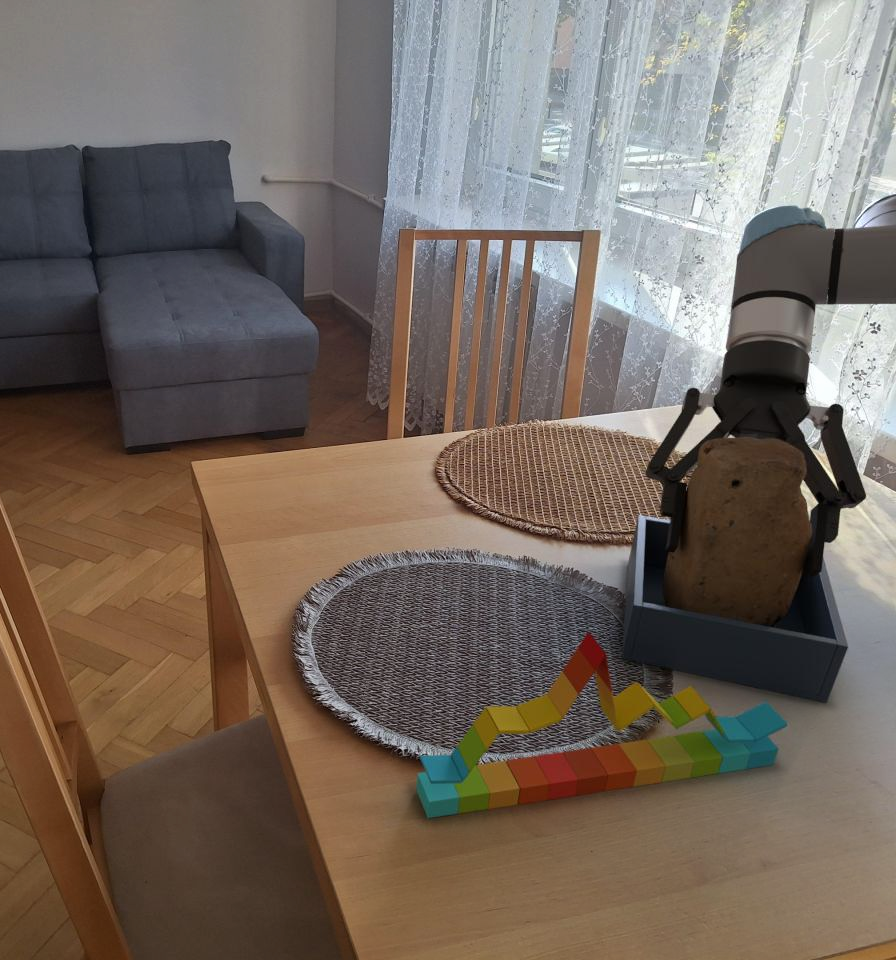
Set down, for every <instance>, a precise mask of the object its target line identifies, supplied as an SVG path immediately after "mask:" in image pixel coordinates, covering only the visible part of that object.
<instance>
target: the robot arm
mask: <svg viewBox="0 0 896 960" xmlns="http://www.w3.org/2000/svg"><path fill="white" fill-rule="evenodd" d="M734 273H735V274H734V281H733V290H732V296H731V304H730V305H731V306H730V315H729V321H728V322H729V323H728V329H727V336H726V341H725V342H726V343H725V350H726V352H725V354H724V356H723V363H722V369H721V374H720V375H721V377H720V383H719V389H718V391H717V392H716V393H715V394H712V393H704V392H701V391H700V390H699V389H698V388H697V387H690V388H688V390H687V391H686V393H685V394H684V398H683V400H682V405H681V411H680V413H679V415H678V416H677V418H676V419H675V421H674V423H673V425H672V426H671V427H670V429H669V430H668V432H667V434H666V435H665V437H664V439H663V440H662V442H661V444H660V445H659V447H658V448H657V450H656V451H655V453H654V454H653V456H652V458H651V459H650V461H649V462H648V464H647V467H646V469H645V476H646V477H647V478H648V479H650V480H655V481H657V482H659V483H660V484H661V485H662V493H661V498H660V506H659V514H660V517H666V518H670V519H669V520H670V525H669V532H668V539H667V546H666V552H672V553H674V552H675V550H676V549H677V547H678V543H679V536H680V529H681V522H682V516H683V509H684V502H685V495H686V490H687V486H688V483H687V482H683V481H682V480H683V479H684V478H685V477H687V476H688V474H690V473H692V472H693V471H694V469H695V468H696V467H697V464H698V454H699V450H700V448H701V446H702V444H704V443H705V442H706V441H708V440H713V439H719V438H730V436H732V438H736V437H750V438H757V439H766V438H775V439H780V440H783V441H784V442H786V443H788V444H790V445H792V446H794V447H795V448H797V449H798V450H800V451H802V453H803V454H804V457H805V462H806V468H807V472H806V476H805V478H804V479H803V482H804V483H805V485H806V487H807V488H808V490H809V491H810V493H811V494H812V496H813V497H814V499H815V501H816V502H817V504H816V505H815V506H814V507H813V508H811V509H810V514H809V521H810V523H811V524H812V539H811V544H810V548H809V552H808V556H807V559H806V562H805V569H804V576H810V577H814V576H815V575H817V574H818V573H820V572H821V571H822V563H823V558H824V552H825V551H824V550H825V543H827V544H831V543H833V542H834V541H835V540H836V539H837V537H838V536H839V528H840V521H841V520H840V518H841V510H842V509H855V508H856V507H857V506H858V505H861V503H863V501H865V500H866V498H867V493H866V490H865V487H864V485H863V482H862V478H861V475H860V473H859V470H858V467H857V465H856V461H855V459H854V456H853V454H852V451H851V447H850V444H849V442H848V438H847V436H846V434H845V430H844V428H843V421H844V411H845V410H844V407H843V406H842V404H839V403H832V404H831V405H830V406H829V407H827V406H817V405H811V404H810V403H809V401H808V398H807V388H808V379H809V371H810V361H811V358H810V355H809V354H810V352H811V351H812V344H813V335H814V334H813V333H814V324H815V316H816V306H817V305H819V306H820V305H821V306H822V305H823V306H824V305H829V306H830V305H833V306H834V305H896V193H892V194H887V195H885V196H882V197H880V198H878V199H876V200H874V201H872V202H871V203H870V204H868V205H866V207H865V208H864V209H863V210H862V212H861V213H860V214H859V215H858V216H857V218H856V219H855V221H854V223H853V226H852V227H847V228H843V227H840V228H835V227H829V228H827V226H826V222H825V218H824V217H823V215H822V214H821V213H820V212H819V211H817V210H816V209H813V208H811V207H802V208H800V207H799V206H798V205H795V204H785V205H778V206H774V207H770V208H768V209H765V210H763V211H760V212H758V213H757V214H755V215H753V217H752V218H750V220H749V221H748V222H747V223H746V224H745V226H744V227H743V232H742V236H741V241H740V246H739V251H738V253H737V255H736V264H735V271H734ZM707 408H711V409H712V410H713V412H714V413H715V415H716V416H717V417H718V419H719V420H720V422H718V423H717V424H716V425H715V426H714V428H713V429H712V430H711V431H709V432H708V433H707V434H706V435H705V436H704V437H703V438H702V439H701V440H700V441H699V442H698V443H697V444H696V445H694V447H692V449H690V450H689V451H688V452H687V453H686V454H685V455H684V456H683V457H682V458H681V459H680V460H678V462H677V463H675V464H674V465H673V466H672V467H671V468H670V467H667V466H665V465H666V463H668V460H669V459H670V457H671V455H672V454H673V452H674V451H675V449H676V448H677V446H678V444H679V443H680V441H681V440H682V439H683V437H684V435H685V433H686V431H687V430H688V428H689V427H690V425H691V424H692V421H693V419H694V418H695V415H696V416H699V415H702V414H704V411H705V410H706V409H707ZM806 419H808V420H810V421H811V422H812V424H813V427H814V428H815V429H816V430H817V431H818V430H819V434H820V440H821V443H822V446H823V449H824V452H825V456H826V458H827V461H828V464H829V467H830V469H831V473H832V475H833V478H834V482H835V483H834V482H833V480H832V479H831V477H830V475H829V474H828V472H827V471H826V470H825V468H824V467H823V465H822V463H821V462H820V460H819V459H818V457H817V456H816V454H815V453H814V451H813V450H812V448H811V447H810V445H809V444H808V442H807V441H806V436H805V433H804V432H803V431H802V429H801V428H800V426H799V425H800V424H801V423H802V422H804V421H805V420H806ZM835 484H836V485H835Z"/></svg>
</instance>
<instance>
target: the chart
mask: <svg viewBox="0 0 896 960" xmlns="http://www.w3.org/2000/svg"><path fill="white" fill-rule="evenodd" d="M593 675H594V676H595V681H596V686H597V692H598V698H599V703H600V709H601V710H602V712H603V713H604V715H605V716H606V717H607V719H608V721H609V722H610V723H611V725H612V726H613V727H614V729H615V730H616V731H617V733H619V732H621V731H623V730H624V729H626V728H628V726H630V725H631V724H632V723H634V722H635V721H637V720H638V719H640V718H641V717H642V716H644V715H645V714H647V713H648V712H649V711H651V710H652V709H654V710H656V712H657V713H659V714H660V715H661V716H662V717H663V719H665V720H666V721H667V722H668V723H669V724H670V725H671V726H672V727H673V728H674V729H675V730H678V729H681V728H683V727H684V726H686V725H688V724H689V723H691V722H694V721H695V720H697V719H699V718H701V717H702V716H704V715H705V717H706V719H707V720H708V721H709V723H710V724H711V725H712V726H713V728H714V729H709V730H701V731H695V732H687V733H680V734H674V735H668V736H660V737H654V738H647V739H641V740H634V741H627V742H621V743H614V744H608V745H601V746H593V747H588V748H581V749H573V750H568V751H561V752H554V753H547V754H541V755H540V754H539V755H534V756H527V757H521V758H515V759H513V758H512V759H506V760H501V761H494V762H487V763H481V764H478V762H480V760H481V758H482V757H483V756H484V754H485V753H486V752H487V751H488V749H489V748H490V747H491V745H492V744H493V743H494V742H495V740H497V737H498V736H499V735H528V734H529V735H530V734H533V733H534V732H537V731H540V730H542V729H545V728H548V727H550V726H552V725H555V724H557V723H560V722H562V721H563V719H564V718H565V716H566V715H567V713H568V712H569V710H570V709H571V708H572V706H573V705H574V704H575V702H576V701H577V700H578V697H579V695H580V694H581V693H582V691H583V690H584V688H586V685H587V684H588V682H589V681H590V679H591V678H592V677H593ZM788 725H789V723H788V722H787V721H786V720H785V718H783V717H782V716H781V715H780V714H779V712H777V711H776V710H775V709H774V708H773V706H772V705H771V704H770V703H769V702H768V701H763V702H762V703H760V704H758V705H756V706H754V707H752V708H750V709H748V710H746V711H744V712H742V713H740V714H738V715H736V716H716V715H715V713H714V711H713V709H712V708H711V706H710V705H709V704H708V703H707V702H706V701H705V699H704V698H703V697H702V696H701V695H700V694H699V693H698V691H697V690H696V689H695V688H694V687H693V686H691V685H690V686H688V687H686V688H684V689H682V690H681V691H679V692H677V693H674V695H672V696H670V697H668V698H666V699H664V700H663V701H661V702H658V701H657V699H655V698H654V697H653V696H652V695H651V694H650V693H649V692H648V691H647V690H646V689H645V688H644V687H643V686H642V685H641V684H640V683H639V682H637V681H635V682H633V683H632V684H631V685H629V686H628V687H627V688H625V689H624V690H622V691H621V692H620V693H618V694H616V695H615V696H614V692H613V686H612V680H611V674H610V668H609V663H608V656H607V653H606V652H605V650H604V649H603V648H602V646H601V645H600V644H599V642H598V641H597V640H596V639H595V637H594V636H593V635H592V633H591V632H589V631H588V632H586V634H585V636H584V637H583V639H582V641H581V642H580V644H579V645H578V646H577V648H576V649H575V651H574V653H573V654H572V655H571V657H570V658H569V660H568V662H567V663H566V665H565V666H564V668H563V669H562V671H561V672H560V673H559V676H558V677H557V678H556V680H555V682H554V683H553V685H552V686H551V687H550V689H549V690H548V692H547V693H546V694H544V695H541V696H538V697H536V698H534V699H530V700H529V701H526V702H523V703H521V704H518V705H514V706H513V705H512V706H511V705H510V706H507V705H506V706H503V705H502V706H500V705H499V706H498V705H497V706H493V705H492V706H486V707H484V709H483V710H482V712H481V713H480V714H479V715H478V717H477V719H475V721H474V722H473V724H472V725H471V727H470V728H469V729H468V731H467V732H466V733H465V734H464V736H463V737H462V739H460V741H459V742H458V744H457V745H456V747H455V748H454V749H453V750H452V752H451V754H429V755H427V754H426V755H423V754H422V755H420V756H419V759H420V762H421V764H422V766H423V769H424V772H423V771H422V772H417V773H416V775H417V776H416V788H415V790H416V792H417V796H418V797H419V800H420V803H421V805H422V808H423V811H424V812H425V815H426V817H427V819H431V818H438V817H439V818H440V817H444V816H451V815H452V816H453V815H459V814H464V813H465V814H466V813H471V812H477V811H485V810H492V809H499V808H506V807H511V806H518V805H524V804H531V803H537V802H538V803H539V802H544V801H550V800H556V799H564V798H569V797H576V796H583V795H588V794H596V793H601V792H608V791H614V790H620V789H627V788H633V787H638V786H639V787H640V786H646V785H653V784H659V783H660V784H661V783H667V782H671V781H678V780H685V779H691V778H692V779H693V778H698V777H705V776H711V775H716V774H717V775H718V774H723V773H730V772H736V771H743V770H748V769H755V768H762V767H768V766H773V765H774V764H775V761H776V757H777V755H778V753H779V750H780V749H779V747H778V746H777V745H776V744H775V742H773V740H772V739H771V738H770V737H769V736H771V735H773V734H775V733H777V732H778V731H781V730H784V729H785V728H787V727H788Z"/></svg>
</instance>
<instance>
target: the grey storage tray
mask: <svg viewBox="0 0 896 960" xmlns="http://www.w3.org/2000/svg"><path fill="white" fill-rule="evenodd" d="M669 525H670V519H667V518H659V517H653V516H646V515H641V514H638V515H637V520H636V524H635V529H634V533H633V537H632V538H633V539H632V543H631V548H630V551H629V552H630V553H629V557H628V561H627V571H626V572H627V574H626V587H625V588H626V589H625V600H624V601H625V603H624V618H623V633H622V647H621V659H622V660H628V661H631V662H636V663H642V664H646V665H650V666H655V667H659V668H665V669H669V670H673V671H678V672H683V673H687V674H692V675H697V676H701V677H706V678H710V679H715V680H719V681H725V682H728V683H729V682H730V683H733V684H739V685H741V686H742V685H743V686H747V687H751V688H757V689H761V690H766V691H770V692H775V693H780V694H784V695H789V696H793V697H798V698H801V699H802V698H803V699H807V700H812V701H815V702H816V701H818V702H820V703H821V702H822V703H828V700H829V698H830V695H831V693H832V691H833V688H834V685H835V682H836V681H837V678H838V674H839V673H840V669H841V667H842V664H843V662H844V659H845V656H846V653H847V652H848V649H849V645H848V641H847V637H846V634H845V631H844V627H843V623H842V620H841V615H840V612H839V608H838V605H837V602H836V598H835V594H834V590H833V587H832V584H831V580H830V577H829V573H828V570H827V565H826V562H825V558H824V557H823V563H822V571H821V572H820V573H818V574H817V575H815V576H814V577H810V576H804V569H805V565H804V568H803V571H802V575H801V578H800V581H799V584H798V587H797V589H796V592H795V594H794V596H793V599H792V602H791V605H790V607H789V609H788V611H787V613H786V615H785V616H784V618H783V619H782V620H780V621H779V622H777V623H776V624H775V625H774V626H773V627H767V626H762V625H757V624H752V623H747V622H741V621H736V620H731V619H726V618H721V617H716V616H710V615H705V614H700V613H695V612H690V611H685V610H679V609H674V608H669V607H666V606H665V600H664V596H663V581H664V572H665V568H666V562H667V558H668V553H669V552H666V546H667V539H668V532H669Z"/></svg>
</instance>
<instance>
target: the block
mask: <svg viewBox="0 0 896 960" xmlns="http://www.w3.org/2000/svg"><path fill="white" fill-rule="evenodd" d="M806 472H807V468H806V462H805V457H804V454H803V453H802V451H800V450H798V449H797V448H795V447H794V446H792V445H790V444H788V443H786V442H784V441H783V440H780V439H775V438H766V439H757V438H750V437H736V438H735V437H728V438H719V439H713V440H708V441H706V442H705V443H704V444H702V446H701V448H700V450H699V454H698V464H697V466H696V467H695V468H694V469H693V470H692V472H691V476H690V478H689V481H688V483H687V488H686V495H685V502H684V509H683V516H682V522H681V529H680V536H679V543H678V547H677V549H676V550H675V552H674V553H672V552H669V553H668V558H667V562H666V568H665V572H664V581H663V596H664V600H665V606H666V607H669V608H674V609H679V610H685V611H690V612H695V613H700V614H705V615H710V616H716V617H721V618H726V619H731V620H736V621H741V622H747V623H752V624H757V625H762V626H767V627H773V626H774V625H775V624H776V623H777V622H779V621H780V620H782V619H783V618H784V616H785V615H786V613H787V611H788V609H789V607H790V605H791V602H792V599H793V596H794V594H795V592H796V589H797V587H798V584H799V581H800V578H801V575H802V571H803V568H804V565H805V562H806V559H807V556H808V552H809V548H810V544H811V539H812V524H811V523H810V514H809V511H808V503H807V499H806V498H805V496H804V495H803V493H802V488H801V486H802V484H803V482H804V480H803V479H804V478H805V476H806Z"/></svg>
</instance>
